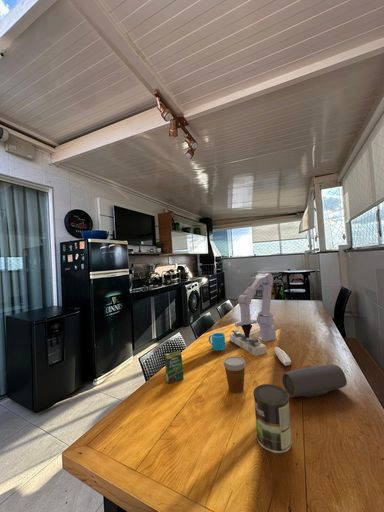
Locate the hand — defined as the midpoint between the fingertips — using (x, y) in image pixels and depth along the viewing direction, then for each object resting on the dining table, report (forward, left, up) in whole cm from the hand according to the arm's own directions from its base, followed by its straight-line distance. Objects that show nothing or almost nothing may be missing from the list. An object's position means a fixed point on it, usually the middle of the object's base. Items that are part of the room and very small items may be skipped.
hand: (247, 336), depth 137 cm
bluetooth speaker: (+3, +49, -7) cm, 50 cm away
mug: (+16, -12, -7) cm, 21 cm away
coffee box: (+51, +13, -7) cm, 53 cm away
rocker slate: (0, +6, -1) cm, 6 cm away
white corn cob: (-7, +21, -8) cm, 24 cm away
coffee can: (+33, +60, -7) cm, 69 cm away
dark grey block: (0, -12, -1) cm, 12 cm away
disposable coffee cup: (+29, +32, -7) cm, 44 cm away
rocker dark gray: (0, -3, -1) cm, 3 cm away
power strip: (-1, -6, -7) cm, 9 cm away
